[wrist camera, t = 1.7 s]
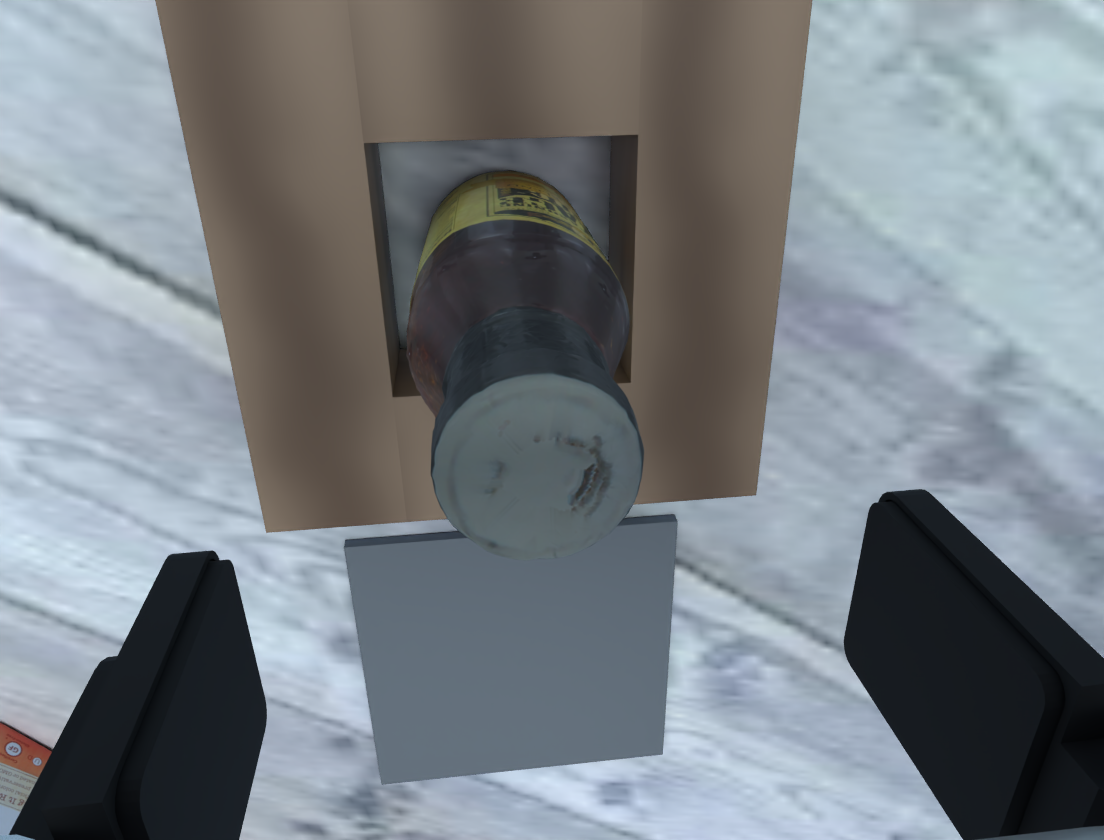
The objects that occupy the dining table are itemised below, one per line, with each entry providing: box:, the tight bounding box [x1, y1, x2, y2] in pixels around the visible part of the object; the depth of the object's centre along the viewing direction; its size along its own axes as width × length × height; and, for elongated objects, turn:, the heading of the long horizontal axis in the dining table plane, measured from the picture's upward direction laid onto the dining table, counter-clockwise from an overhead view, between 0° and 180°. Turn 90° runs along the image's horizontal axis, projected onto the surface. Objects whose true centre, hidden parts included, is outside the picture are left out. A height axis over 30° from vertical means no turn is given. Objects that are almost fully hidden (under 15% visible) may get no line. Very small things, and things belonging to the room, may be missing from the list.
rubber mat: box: [344, 515, 678, 785], centre depth 42 cm, size 16×16×1 cm
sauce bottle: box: [406, 171, 644, 561], centre depth 24 cm, size 7×6×20 cm
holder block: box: [155, 0, 812, 533], centre depth 30 cm, size 20×20×5 cm
